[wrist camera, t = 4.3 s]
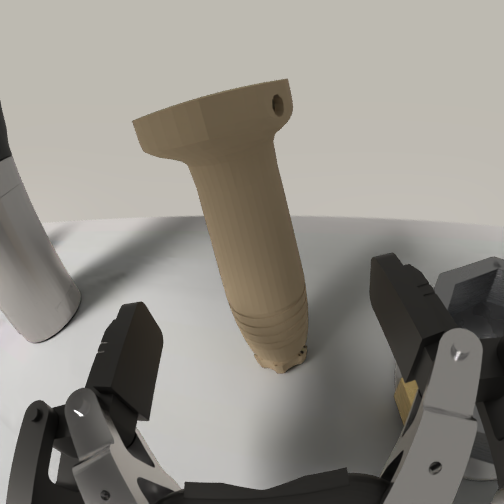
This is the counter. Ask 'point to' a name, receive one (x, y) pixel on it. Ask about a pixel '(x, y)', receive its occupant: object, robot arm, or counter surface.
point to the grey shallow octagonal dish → (477, 321)
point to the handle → (243, 208)
